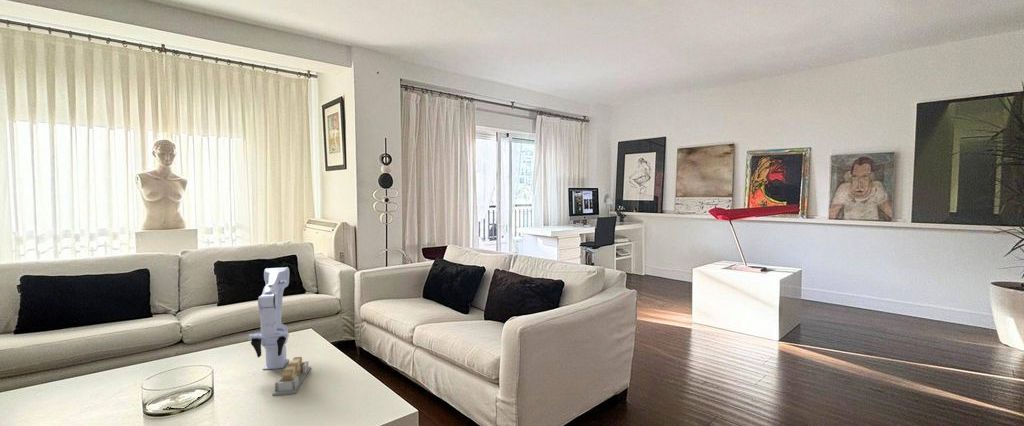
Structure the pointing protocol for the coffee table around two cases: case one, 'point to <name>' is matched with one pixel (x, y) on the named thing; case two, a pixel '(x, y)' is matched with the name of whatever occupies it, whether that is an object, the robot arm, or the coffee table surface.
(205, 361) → the coffee table surface
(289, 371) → the oak slat
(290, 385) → the end cap cradle
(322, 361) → the coffee table surface
